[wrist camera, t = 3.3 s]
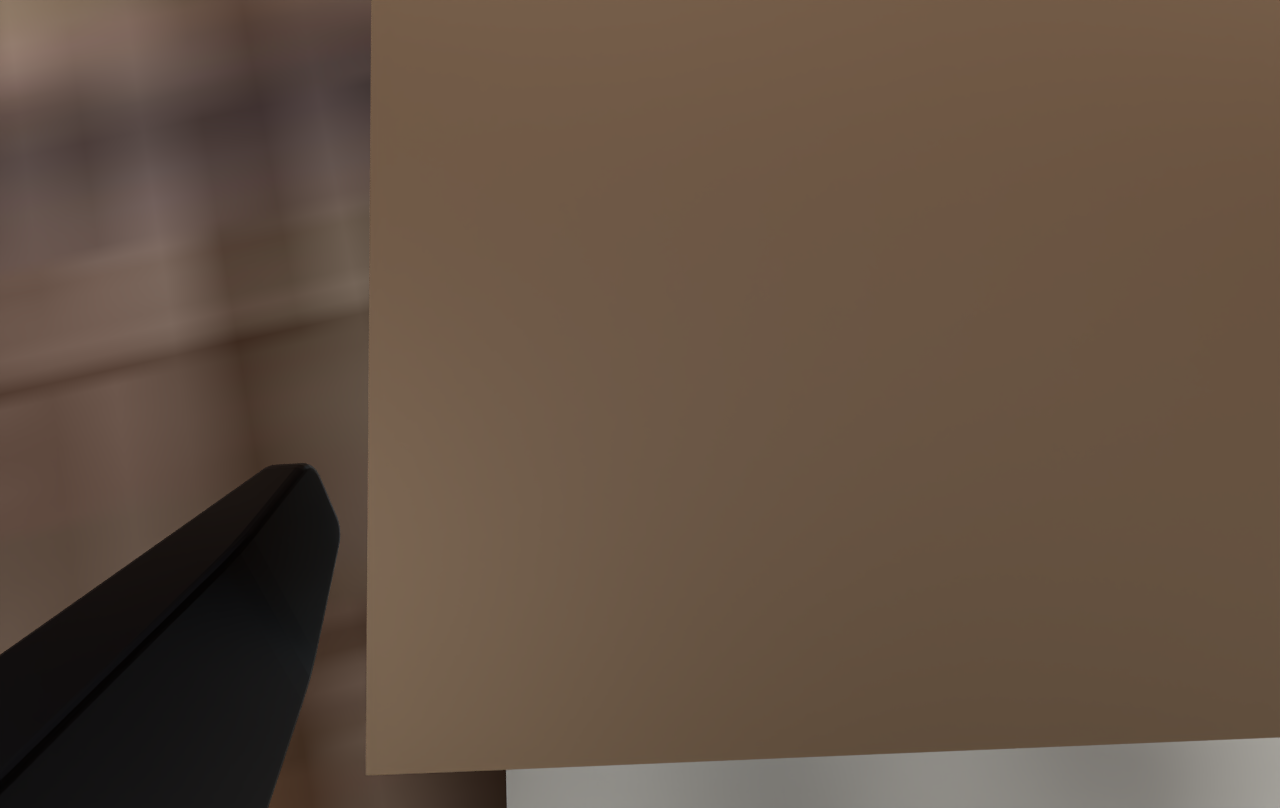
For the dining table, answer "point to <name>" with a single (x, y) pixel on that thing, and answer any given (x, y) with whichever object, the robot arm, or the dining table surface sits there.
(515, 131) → the walnut block
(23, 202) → the dining table surface
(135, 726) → the robot arm
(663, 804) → the board
